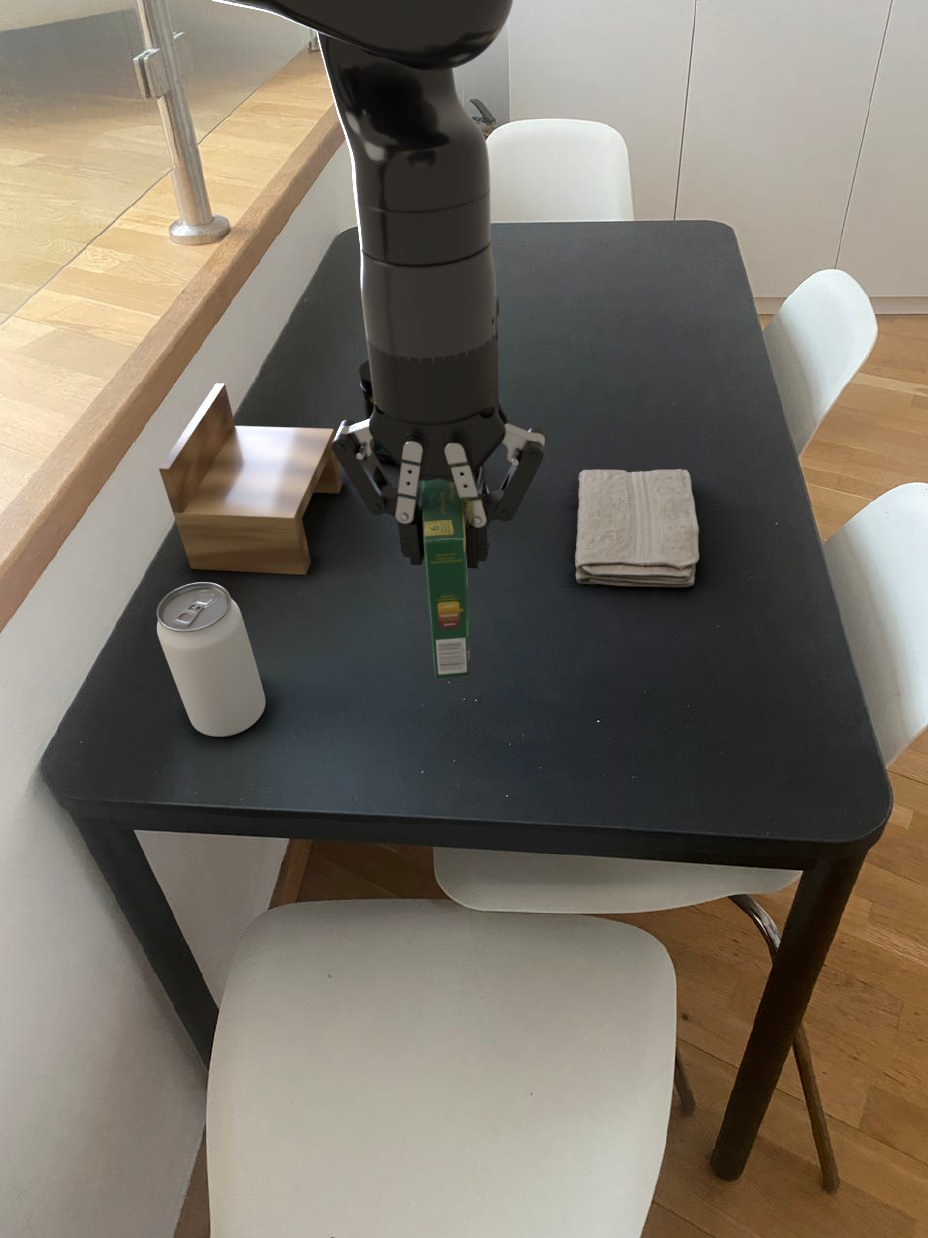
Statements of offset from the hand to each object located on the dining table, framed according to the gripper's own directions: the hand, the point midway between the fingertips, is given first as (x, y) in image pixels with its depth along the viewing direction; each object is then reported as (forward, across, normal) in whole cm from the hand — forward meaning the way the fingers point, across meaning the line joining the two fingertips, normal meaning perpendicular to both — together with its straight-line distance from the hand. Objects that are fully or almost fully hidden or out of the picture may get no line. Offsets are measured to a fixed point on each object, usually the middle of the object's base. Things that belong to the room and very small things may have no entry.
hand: (446, 558), depth 64 cm
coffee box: (+8, 0, 0) cm, 8 cm away
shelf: (+18, -24, +26) cm, 40 cm away
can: (+18, -20, 0) cm, 27 cm away
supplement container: (+18, -13, +41) cm, 47 cm away
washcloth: (+18, +14, +27) cm, 35 cm away
